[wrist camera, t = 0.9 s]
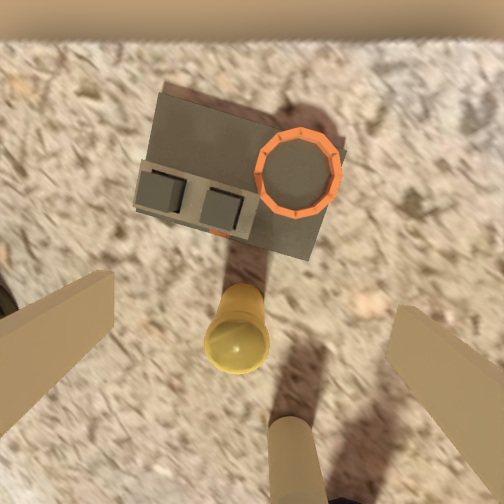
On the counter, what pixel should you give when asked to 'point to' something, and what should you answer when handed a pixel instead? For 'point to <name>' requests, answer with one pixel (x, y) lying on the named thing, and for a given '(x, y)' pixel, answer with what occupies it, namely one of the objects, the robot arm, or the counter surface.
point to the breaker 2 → (220, 210)
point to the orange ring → (333, 164)
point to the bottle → (342, 501)
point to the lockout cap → (238, 331)
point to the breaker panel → (237, 174)
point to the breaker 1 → (160, 192)
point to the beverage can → (294, 464)
